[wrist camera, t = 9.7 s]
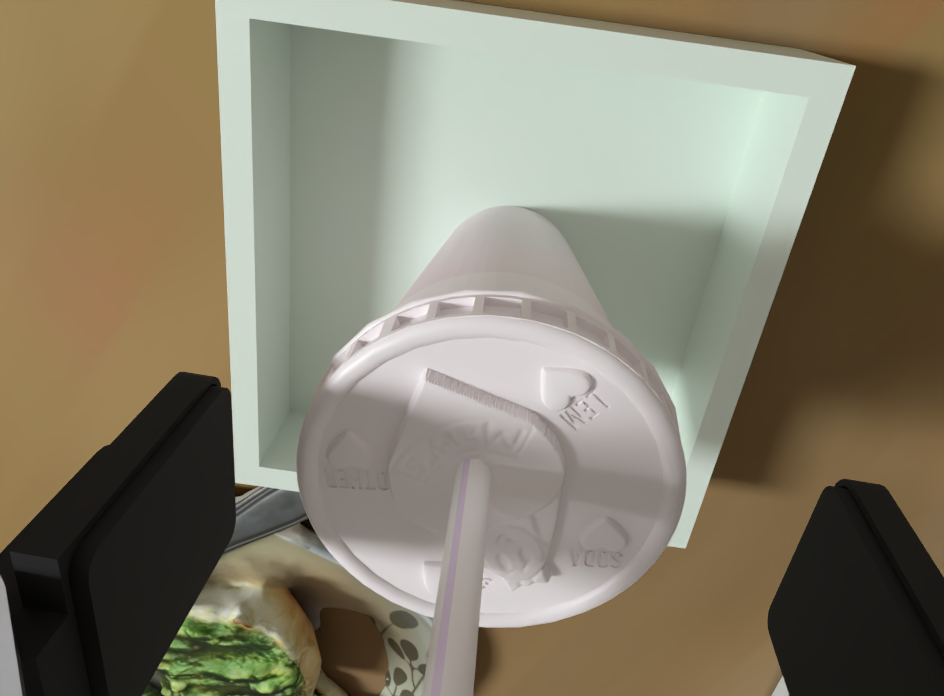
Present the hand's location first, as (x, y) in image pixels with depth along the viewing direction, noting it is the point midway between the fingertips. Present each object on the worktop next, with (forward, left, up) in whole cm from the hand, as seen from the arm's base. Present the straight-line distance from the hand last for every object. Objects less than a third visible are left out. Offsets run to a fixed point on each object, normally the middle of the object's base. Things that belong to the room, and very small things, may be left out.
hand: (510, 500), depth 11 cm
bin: (+1, 0, -10) cm, 10 cm away
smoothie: (0, 0, -10) cm, 10 cm away
